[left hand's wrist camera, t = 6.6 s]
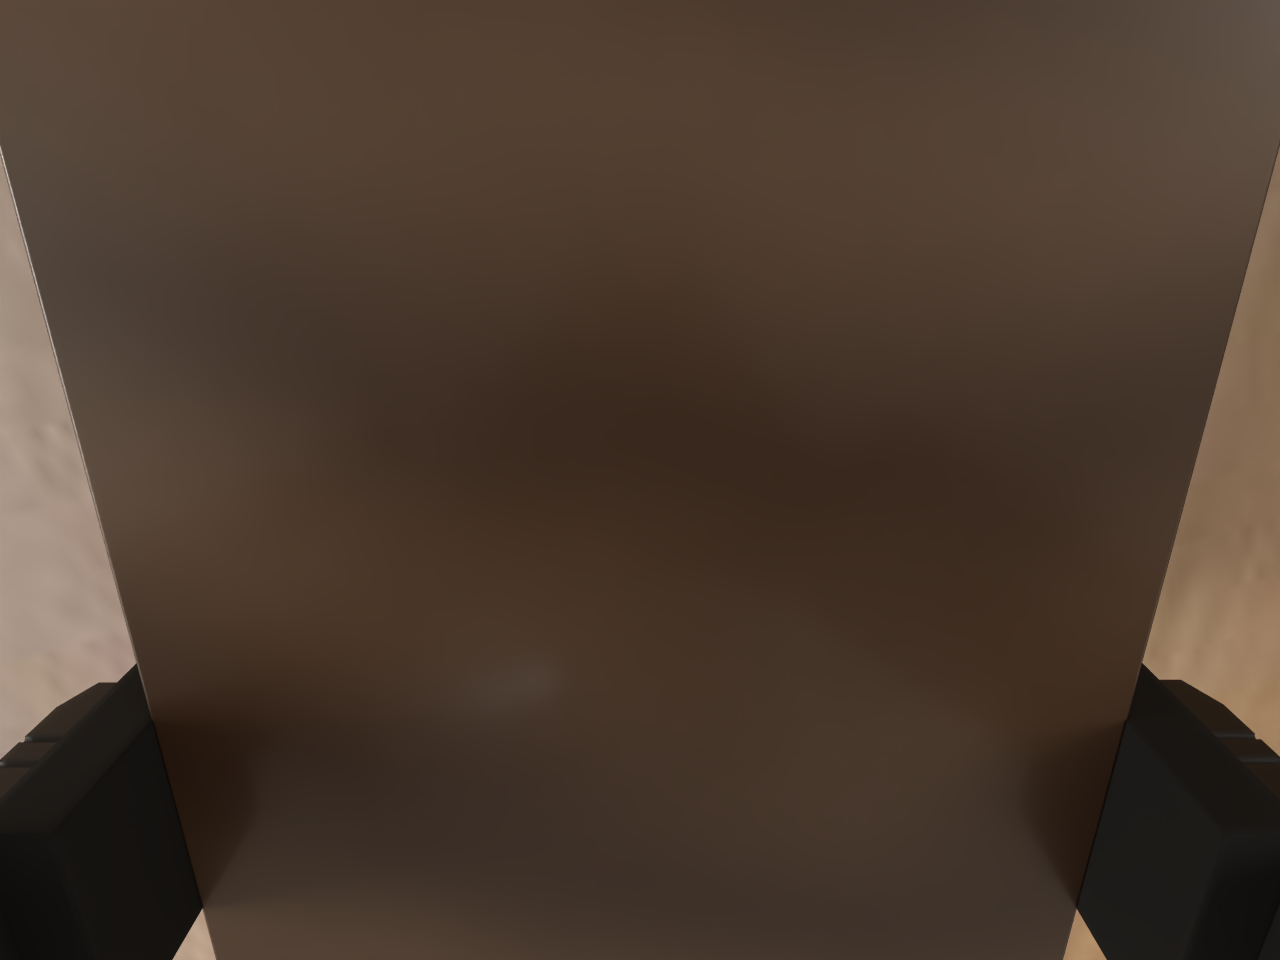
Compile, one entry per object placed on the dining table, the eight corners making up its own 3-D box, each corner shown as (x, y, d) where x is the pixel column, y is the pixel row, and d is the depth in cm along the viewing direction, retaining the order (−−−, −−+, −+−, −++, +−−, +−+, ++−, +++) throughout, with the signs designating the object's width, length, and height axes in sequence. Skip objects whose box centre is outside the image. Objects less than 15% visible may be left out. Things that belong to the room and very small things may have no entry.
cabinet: (320, -317, 13) (-438, -1461, 4) (957, -317, 13) (1713, -1463, 4) (426, 634, 19) (238, 1048, 10) (852, 634, 19) (1041, 1048, 10)
